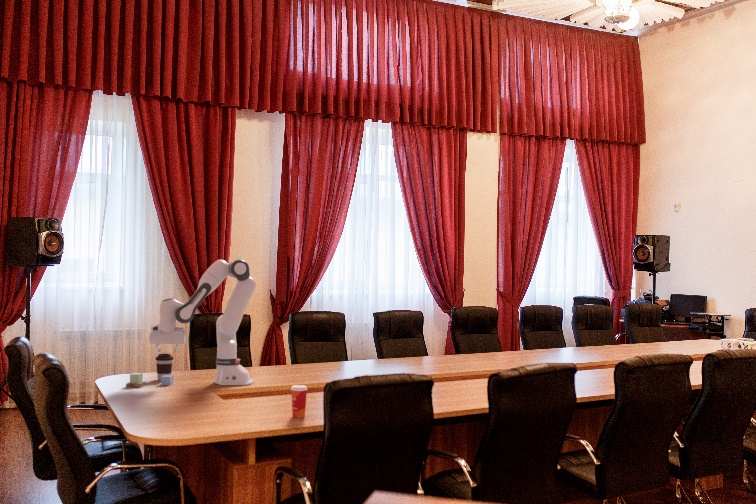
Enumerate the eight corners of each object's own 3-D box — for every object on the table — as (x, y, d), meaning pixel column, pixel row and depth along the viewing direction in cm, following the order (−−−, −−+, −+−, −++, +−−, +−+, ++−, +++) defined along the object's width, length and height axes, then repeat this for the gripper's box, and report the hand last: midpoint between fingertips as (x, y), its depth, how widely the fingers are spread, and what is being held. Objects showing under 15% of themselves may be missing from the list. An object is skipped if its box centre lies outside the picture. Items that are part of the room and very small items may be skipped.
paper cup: (290, 414, 323) (291, 384, 323) (307, 414, 324) (307, 384, 324) (289, 418, 315) (290, 388, 315) (306, 418, 316) (307, 388, 316)
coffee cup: (167, 381, 400) (168, 355, 400) (151, 380, 402) (152, 355, 402) (175, 378, 410) (176, 353, 410) (160, 378, 412) (161, 352, 412)
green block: (142, 381, 388) (142, 373, 388) (138, 383, 383) (138, 374, 383) (133, 381, 388) (133, 372, 388) (130, 383, 383) (130, 374, 383)
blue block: (172, 384, 394) (173, 375, 394) (169, 385, 389) (169, 376, 389) (164, 383, 394) (164, 375, 394) (161, 385, 389) (161, 376, 389)
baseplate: (145, 385, 389) (145, 381, 389) (140, 387, 381) (140, 384, 381) (132, 384, 390) (132, 381, 390) (125, 387, 382) (126, 383, 382)
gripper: (187, 326, 394) (187, 351, 394) (152, 326, 395) (152, 350, 395) (183, 327, 388) (183, 352, 388) (148, 327, 389) (148, 352, 389)
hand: (167, 351), depth 392 cm, fingers open, 8 cm apart
